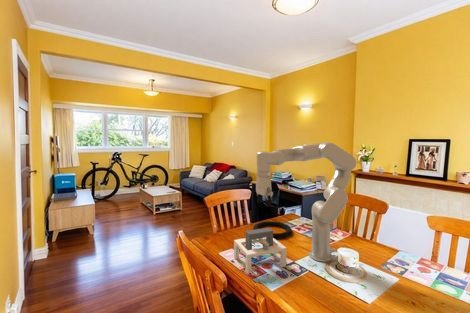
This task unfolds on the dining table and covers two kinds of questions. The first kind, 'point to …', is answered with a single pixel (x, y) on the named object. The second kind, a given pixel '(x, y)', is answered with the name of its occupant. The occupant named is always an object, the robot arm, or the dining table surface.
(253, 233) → the grey piece
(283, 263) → the cream frame with rod
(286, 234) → the cable lock
